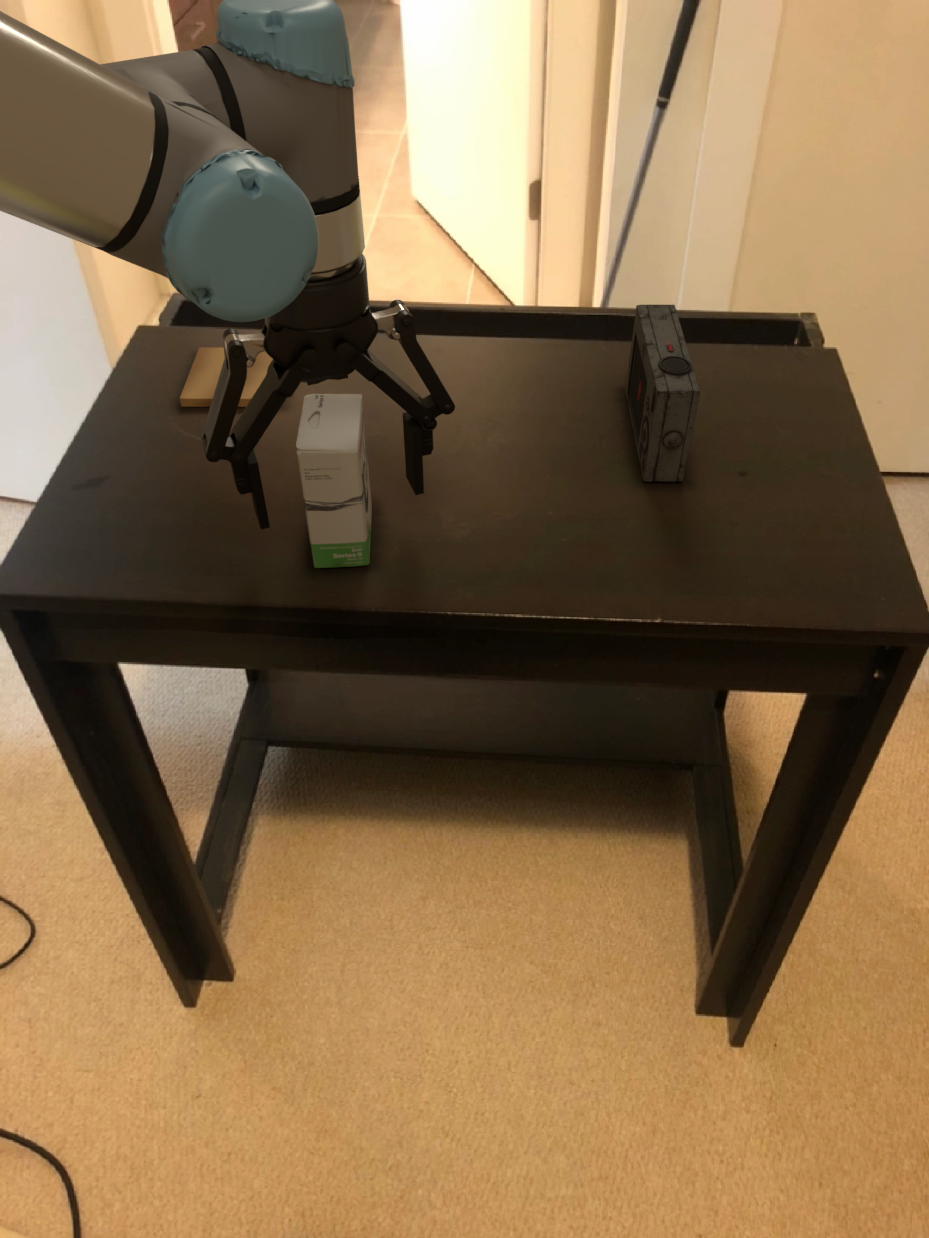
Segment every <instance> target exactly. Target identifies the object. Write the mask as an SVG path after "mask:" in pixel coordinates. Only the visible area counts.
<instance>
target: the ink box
mask: <svg viewBox="0 0 929 1238" xmlns="http://www.w3.org/2000/svg"><path fill="white" fill-rule="evenodd" d="M363 404H364V403H363V394H362V393H308V394H306V395H304V396H303V401H302V408H301V413H300V419H299V424H298V430H297V436H296V440H295V448H296V459H297V464H298V471H299V477H300V484H301V491H302V497H303V504H304V511H305V517H306V524H307V531H308V538H309V544H310V545H309V546H310V550H311V556H312V563H313V567H314V568H315V569H326V568H328V569H329V568H347V567H348V568H349V567H362V566H369V565H370V562H371V560H370V559H371V541H372V538H371V537H372V519H373V518H372V515H373V509H372V508H373V503H372V493H371V479H370V470H369V461H368V459H369V458H368V449H367V448H368V447H367V438H366V437H367V436H366V425H365V415H364V405H363Z"/></svg>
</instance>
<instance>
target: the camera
mask: <svg viewBox="0 0 929 1238" xmlns="http://www.w3.org/2000/svg"><path fill="white" fill-rule="evenodd" d="M634 313H635V315H634V322H633V323H634V324H633V329H632V335H631V342H630V343H631V344H630V351H629V359H628V367H627V375H626V380H625V381H626V382H625V389H624V393H625V397H626V403H627V408H628V412H629V417H630V422H631V426H632V427H631V428H632V433H633V437H634V442H635V448H636V452H637V458H638V462H639V467H640V472H641V477H642V482H644V483H645V482H646V483H683V482H684V478H685V474H686V469H687V468H686V467H687V462H688V457H689V452H690V447H691V441H692V437H693V433H694V432H693V431H694V428H695V427H694V426H695V423H696V422H695V421H696V416H697V412H698V405H699V402H700V397H701V396H700V395H701V390H700V387H699V386H700V385H699V384H698V382H699V381H698V379H697V375H696V372H695V368H694V366H693V362H692V358H691V356H690V351H689V348H688V345H687V343H686V339H685V335H684V332H683V329H682V325H681V321H680V318H679V315H678V312H677V308H676V305H675V304H637V305H636V306H635V312H634Z"/></svg>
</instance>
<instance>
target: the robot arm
mask: <svg viewBox="0 0 929 1238" xmlns="http://www.w3.org/2000/svg"><path fill="white" fill-rule="evenodd" d="M215 17H216V26H217V27H216V30H215V37H216V42H215V43H210V44H207V45H202V46H201V47H199V48H193V49H188V50H182V51H176V52H169V53H164V54H156V55H151V56H150V55H149V56H144V57H138V58H131V59H125V60H119V61H112V62H106V63H98V62H96V61H94V60H92V59H91V58H89V57H87V56H85V55H83V54H82V53H79V52H77V51H76V50H74V49H72V48H70V47H68V46H67V45H65V44H63V43H61V42H59V41H57V40H55V39H54V38H51V37H50V36H49V35H46V34H44V33H42V32H41V31H38V30H36V29H35V28H33V27H31V26H29V25H27V24H25V23H24V22H22V21H20V20H18V19H16V18H14V17H12V16H10V15H9V14H7V13H5V12H3V11H1V10H0V212H2V213H5V214H8V215H10V216H13V217H15V218H18V219H20V220H23V221H25V222H28V223H30V224H33V225H36V226H38V227H40V228H44V229H46V230H49V231H51V232H53V233H56V234H58V235H61V236H64V237H66V238H68V239H71V240H74V241H77V242H79V243H82V244H84V245H86V246H89V247H91V248H94V249H97V250H100V251H102V252H104V253H106V254H108V255H110V256H111V257H115V258H117V259H119V260H123V261H124V262H127V263H130V264H132V265H135V266H137V267H140V268H143V269H145V270H148V271H150V272H152V273H155V274H157V275H160V276H162V277H164V278H167V279H168V281H169V283H170V284H171V285H172V287H173V289H175V290H176V292H178V293H179V294H180V295H182V296H183V297H184V298H185V300H187V301H189V302H190V303H193V304H195V305H196V306H197V307H198V308H199V309H201V310H202V311H203V312H205V313H206V314H208V315H209V316H212V317H215V318H217V319H220V320H223V321H227V322H232V323H247V322H248V323H249V322H256V321H260V320H263V319H264V324H263V327H262V329H261V332H254V333H244V334H240V332H239V331H238V330H237V329H235V328H227V329H226V330H224V332H223V333H222V345H223V346H222V347H224V356H225V359H224V362H223V365H222V369H221V372H220V376H219V379H218V382H217V386H216V389H215V392H214V396H213V399H212V402H211V406H210V407H209V410H208V413H207V416H206V419H205V423H204V426H203V429H202V433H201V436H200V441H201V444H202V448H203V451H204V455H205V458H206V460H207V461H208V462H210V463H217V462H220V461H221V460H223V461H227V462H228V463H230V466H231V472H232V476H233V481H234V484H235V487H236V490H237V492H238V493H239V494H240V495H241V496H242V495H246V494H251V498H252V504H253V510H254V513H255V516H256V519H257V522H258V525H259V528H260V530H266V529H270V528H271V525H270V519H269V514H268V509H267V505H266V504H267V503H266V498H265V493H264V489H263V481H262V477H261V472H260V467H259V461H258V459H257V456H256V452H255V451H254V450H255V448H256V446H257V445H258V444H259V441H260V440H261V439H262V437H263V436H264V434H265V433H266V431H267V429H268V428H269V426H270V425H271V423H272V422H273V420H274V419H275V417H276V415H277V414H278V412H279V411H280V409H281V408H282V406H283V405H284V403H285V402H286V400H287V399H289V398H292V396H293V395H294V394H295V392H296V390H297V389H298V387H299V386H300V385H301V383H306V385H307V386H313V385H318V384H320V383H323V382H325V381H328V380H335V381H339V380H345V379H349V375H350V374H352V373H354V372H355V371H356V372H357V373H358V374H359V375H361V376H362V377H363V378H365V380H367V381H368V382H369V383H370V382H371V383H372V384H373V385H375V386H376V387H377V388H378V389H379V390H380V391H381V392H383V393H384V394H385V395H386V396H388V397H389V398H390V399H391V401H393V402H395V403H396V404H397V405H398V406H399V407H400V408H401V409H403V410H404V412H402V427H403V428H402V429H403V445H404V463H405V465H404V466H405V478H406V479H407V482H408V483H409V486H410V488H411V489H412V491H413V493H414V495H415V496H420V495H423V494H425V485H424V458H423V457H424V456H428V455H432V453H433V451H434V435H433V434H434V431H433V430H435V429H436V427H437V425H438V421H437V419H436V418H437V417H439V416H441V415H445V416H448V415H451V414H452V413H454V411H455V409H456V404H455V402H454V401H453V399H452V397H451V396H450V394H449V392H448V391H447V389H446V387H445V386H444V384H443V382H442V380H441V378H440V377H439V375H438V374H437V372H436V370H435V368H434V367H433V365H432V364H431V362H430V360H429V358H428V357H427V355H426V353H425V352H424V350H423V349H422V347H421V345H420V343H419V341H418V340H417V331H416V325H415V319H414V316H413V315H412V314H411V312H410V310H409V309H408V308H407V305H406V304H405V302H403V300H401V299H394V300H392V301H391V302H390V303H389V306H388V308H385V309H383V310H379V311H375V312H372V311H371V308H370V305H371V304H370V295H369V283H368V282H369V281H368V270H367V269H368V268H367V259H366V256H365V255H364V254H363V253H364V250H365V248H366V243H365V231H364V230H365V229H364V220H363V209H362V208H363V207H362V195H361V188H360V187H361V186H360V178H359V177H360V176H359V165H358V163H359V162H358V150H357V149H358V147H357V137H356V136H357V135H356V119H355V104H354V101H355V100H354V87H355V78H354V75H353V69H352V68H353V67H352V61H351V60H352V59H351V54H350V53H351V52H350V45H349V37H348V35H347V30H346V23H345V18H344V14H343V11H342V9H341V8H340V6H339V5H338V4H337V3H336V2H335V1H334V0H222V1H221V2H220V4H219V5H218V7H217V10H216V16H215ZM380 331H383V332H384V333H385V334H386V336H387V337H388V338H389V339H390V340H393V341H394V340H395V341H398V343H399V345H400V346H401V348H402V350H403V351H404V354H406V357H407V358H408V359H409V361H410V363H411V365H412V366H413V367H414V369H415V371H416V372H417V375H418V376H419V377H420V379H421V381H422V382H423V384H424V385H425V387H426V389H427V390H428V392H429V394H428V395H426V396H425V397H423V396H421V395H420V394H418V392H416V391H415V390H414V389H413V388H412V387H411V386H409V385H408V384H407V383H406V382H405V381H404V380H403V379H402V378H400V376H399V375H397V374H396V373H395V372H394V371H393V370H392V369H391V368H389V367H388V366H387V365H386V364H385V363H383V362H382V360H381V359H379V358H378V357H377V356H376V355H375V354H374V353H373V352H372V351H371V349H370V347H371V346H372V344H373V343H374V340H375V339H376V337H377V336H378V333H379V332H380ZM263 351H266V353H267V354H268V355H269V356H270V357H271V358H272V359H273V360H272V361H271V363H270V365H269V366H268V369H267V374H266V376H265V378H264V380H263V381H262V383H261V384H260V386H259V387H258V389H257V391H256V392H255V394H254V395H253V397H252V399H251V400H250V402H249V403H248V405H247V406H246V407H244V409H243V411H242V412H241V414H240V416H239V417H238V419H237V420H236V422H235V424H234V420H235V417H236V414H237V411H238V408H239V407H238V404H239V401H240V398H241V395H242V392H243V389H244V385H245V382H246V377H247V367H249V368H250V367H252V366H253V364H254V363H255V361H256V357H257V355H258V354H259V353H261V352H263ZM233 424H234V425H233ZM232 426H233V427H232Z"/></svg>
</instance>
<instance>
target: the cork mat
mask: <svg viewBox="0 0 929 1238" xmlns="http://www.w3.org/2000/svg"><path fill="white" fill-rule="evenodd" d="M197 349H198V350H197V352H196V354H195V357H194V360H193V362H192V365H191V368H190V370H189V372H188V375H187V378H186V381H185V383H184V386H183V389H182V390H181V394H180V396H179V403H180V407H182V408H186V407H187V408H188V407H189V408H193V407H194V408H210V406H211V402H212V399H213V396H214V392H215V389H216V386H217V382H218V379H219V376H220V372H221V369H222V365H223V362H224V359H225V356H224V346H222V347H220V346H219V347H218V346H217V347H211V346H210V347H209V346H207V347H206V346H204V347H202V346H201V347H200V346H199V347H198V348H197ZM272 360H273V359H272V358H271V357H270V356H269V355H268V354H267V353H266V351H263V352H261V353H259V354H258V355H257V357H256V361H255V363H254V364H253V366H252V367H250V368H249V367H247V377H246V382H245V385H244V389H243V392H242V395H241V398H240V401H239V404H238V408H246V406H247V405H248V403H249V402H250V400H251V399H252V397H253V395H254V394H255V392H256V391H257V389H258V387H259V386H260V384H261V383H262V381H263V380H264V378H265V376H266V374H267V369H268V366H269V365H270V363H271V361H272Z"/></svg>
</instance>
